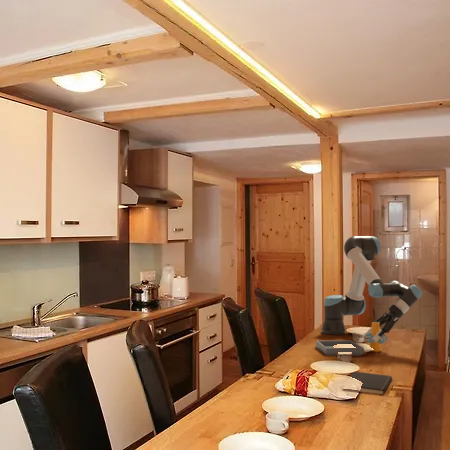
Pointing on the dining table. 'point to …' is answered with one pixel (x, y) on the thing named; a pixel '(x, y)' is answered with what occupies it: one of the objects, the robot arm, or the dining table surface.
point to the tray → (328, 348)
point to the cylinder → (375, 329)
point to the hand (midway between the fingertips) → (370, 338)
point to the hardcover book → (373, 382)
